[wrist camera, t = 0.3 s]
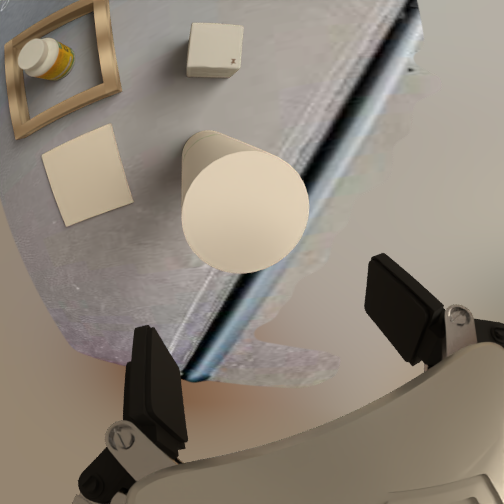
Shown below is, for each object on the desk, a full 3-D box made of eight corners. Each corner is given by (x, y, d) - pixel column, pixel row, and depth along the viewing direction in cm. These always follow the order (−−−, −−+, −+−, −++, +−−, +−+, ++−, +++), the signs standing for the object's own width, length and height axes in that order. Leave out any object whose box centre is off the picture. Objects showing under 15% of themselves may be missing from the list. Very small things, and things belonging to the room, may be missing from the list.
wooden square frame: (13, 47, 18) (4, 44, 15) (108, -3, 20) (103, -10, 17) (25, 137, 26) (15, 140, 24) (122, 91, 29) (117, 89, 26)
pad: (43, 154, 29) (41, 155, 28) (111, 123, 30) (110, 123, 30) (67, 225, 35) (66, 226, 34) (133, 201, 36) (133, 202, 36)
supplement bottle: (39, 76, 23) (6, 70, 15) (57, 44, 21) (28, 30, 13) (64, 85, 25) (33, 79, 17) (82, 52, 24) (56, 37, 15)
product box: (233, 40, 29) (245, 25, 22) (230, 78, 32) (241, 70, 25) (189, 38, 27) (191, 21, 21) (185, 77, 30) (185, 67, 24)
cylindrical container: (181, 180, 37) (184, 276, 15) (182, 130, 34) (181, 149, 12) (231, 179, 39) (299, 269, 17) (234, 131, 35) (317, 155, 14)
